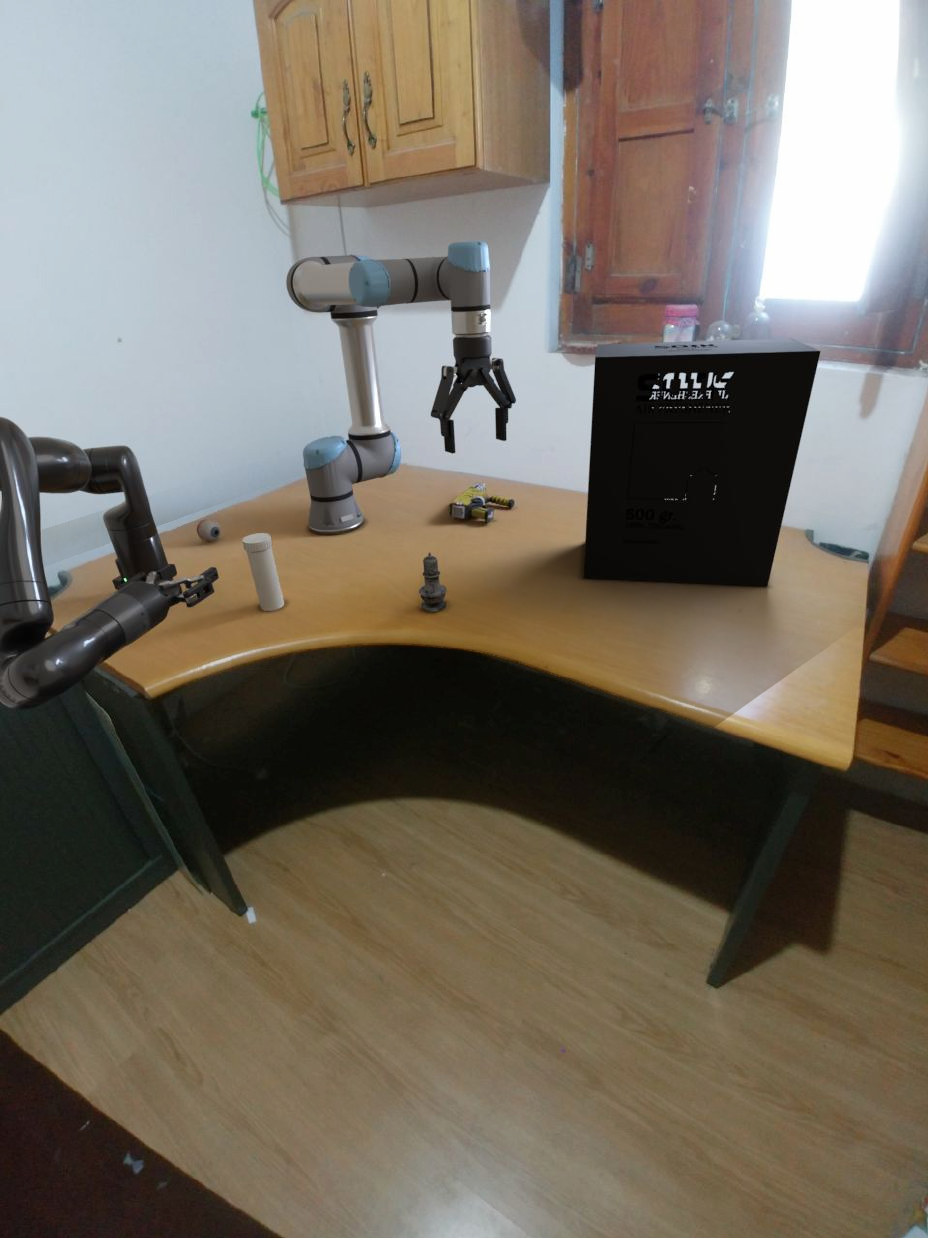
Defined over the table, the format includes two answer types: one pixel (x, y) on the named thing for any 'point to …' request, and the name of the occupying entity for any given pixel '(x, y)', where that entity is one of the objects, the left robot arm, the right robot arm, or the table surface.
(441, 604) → the dark grey chess piece
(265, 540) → the lid
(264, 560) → the jar
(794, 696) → the table surface
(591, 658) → the table surface
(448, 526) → the table surface
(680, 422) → the cardboard box
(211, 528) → the eyeball
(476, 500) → the toy gun
